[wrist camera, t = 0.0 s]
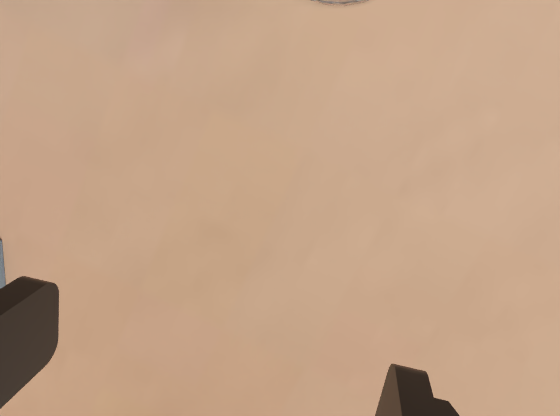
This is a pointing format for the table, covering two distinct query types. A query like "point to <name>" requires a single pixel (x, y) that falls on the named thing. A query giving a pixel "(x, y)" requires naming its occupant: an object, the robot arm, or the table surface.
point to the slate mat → (2, 267)
